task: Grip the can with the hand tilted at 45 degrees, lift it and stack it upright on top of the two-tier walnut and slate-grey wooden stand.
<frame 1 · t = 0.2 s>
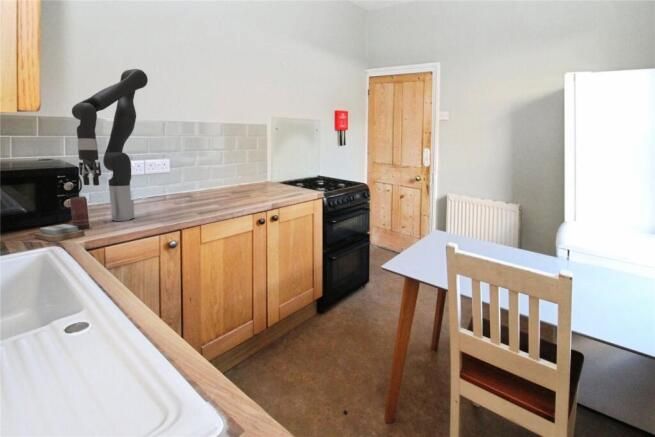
hand: (91, 185, 171), 18 cm above the table, tool pointing down, fingers open, 8 cm apart
stand: (60, 236, 150), on the table
can: (81, 228, 166), on the table
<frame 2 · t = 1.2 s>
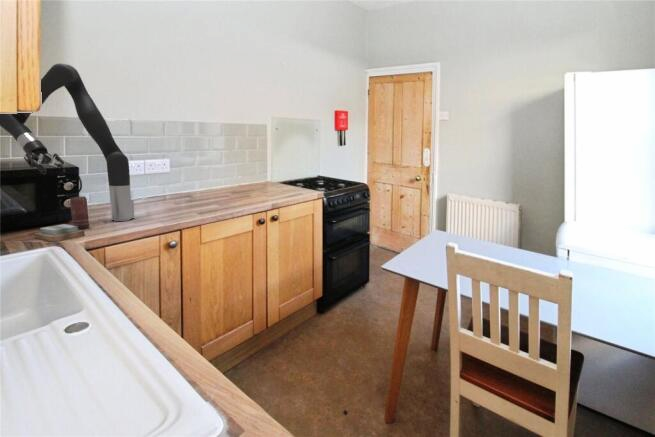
hand: (54, 172, 165), 24 cm above the table, tool tilted 45°, fingers open, 8 cm apart
nothing on the table moved.
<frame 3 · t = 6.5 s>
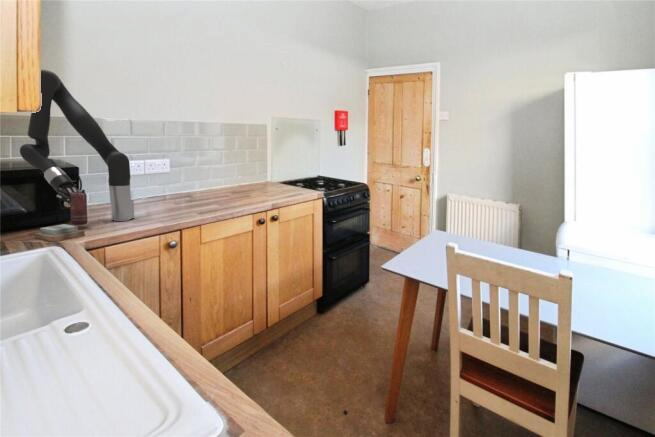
hand: (83, 208, 164), 9 cm above the table, tool tilted 45°, fingers closed
can: (79, 224, 166), point 2 cm above the table, touching gripper, hand
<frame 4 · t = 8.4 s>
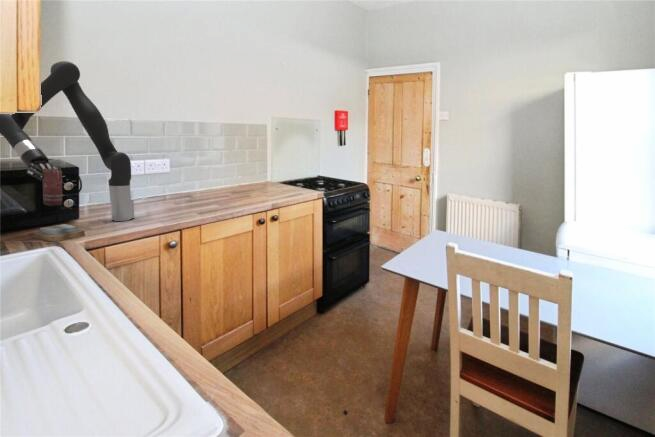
hand: (58, 187, 147), 20 cm above the table, tool tilted 45°, fingers closed
can: (53, 204, 148), point 13 cm above the table, touching gripper, hand
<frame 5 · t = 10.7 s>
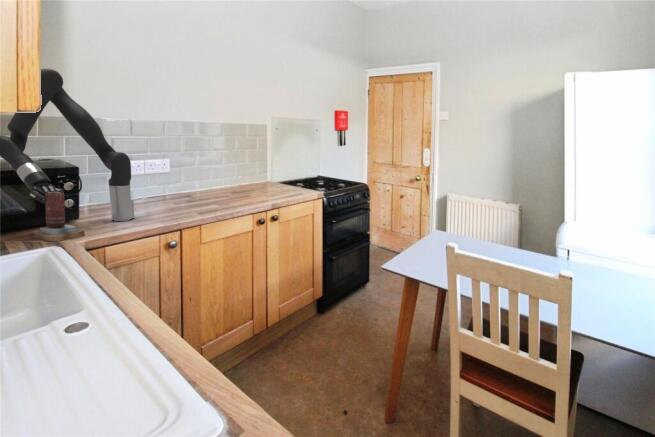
hand: (61, 209, 148), 11 cm above the table, tool tilted 45°, fingers closed
can: (56, 226, 149), point 4 cm above the table, touching stand
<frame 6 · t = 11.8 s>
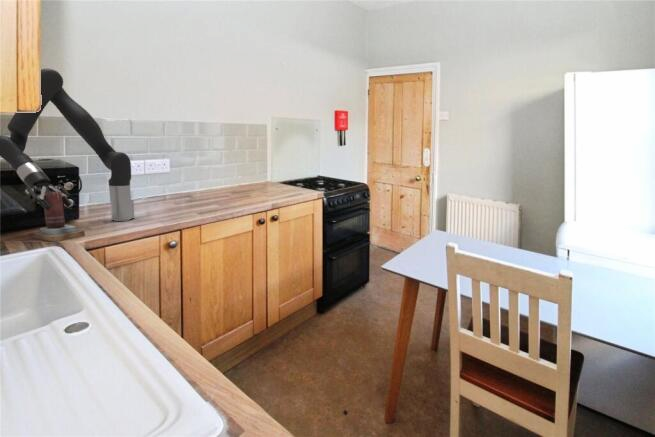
hand: (59, 207, 148), 12 cm above the table, tool tilted 45°, fingers open, 8 cm apart
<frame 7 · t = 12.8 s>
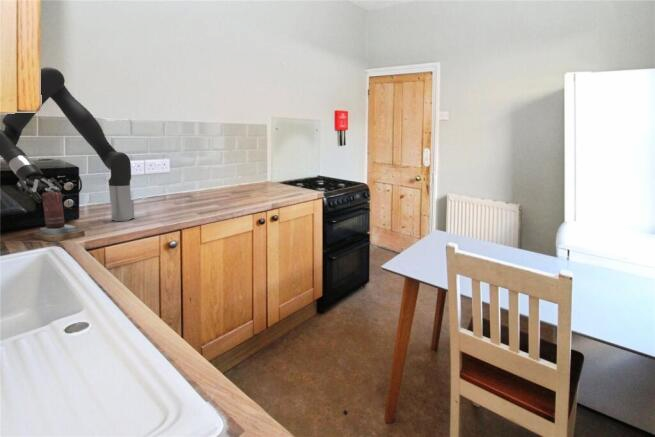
hand: (51, 200, 148), 15 cm above the table, tool tilted 45°, fingers open, 8 cm apart
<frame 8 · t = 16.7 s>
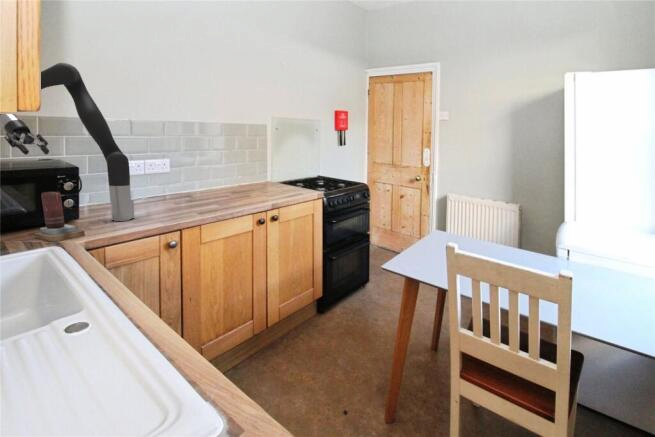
hand: (37, 153, 158), 33 cm above the table, tool tilted 45°, fingers open, 8 cm apart
nothing on the table moved.
at the end: can 1.2 cm off-centre on the stand, point 3.9 cm above the stand's base; can tilted 1°; the gripper is holding nothing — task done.
